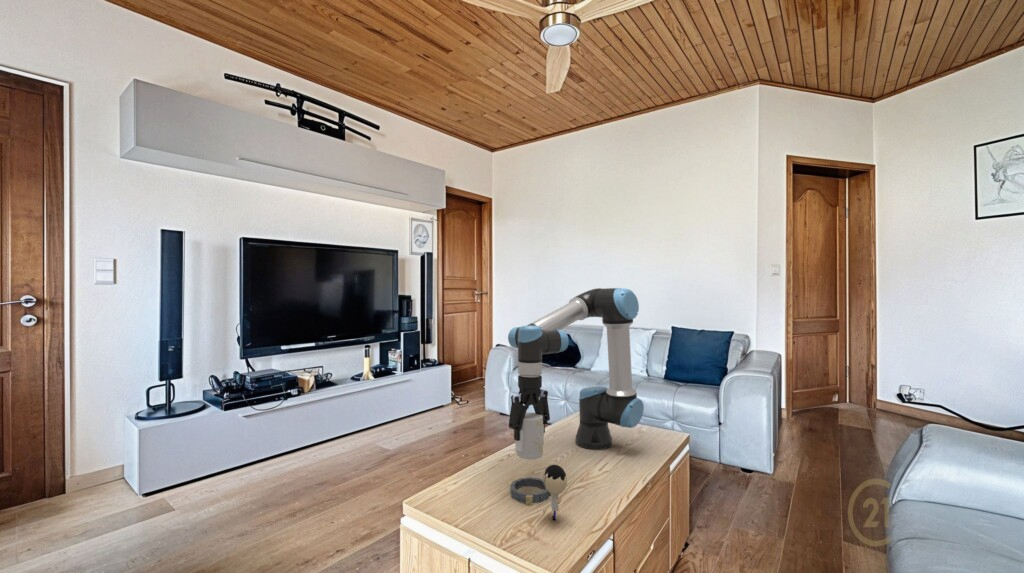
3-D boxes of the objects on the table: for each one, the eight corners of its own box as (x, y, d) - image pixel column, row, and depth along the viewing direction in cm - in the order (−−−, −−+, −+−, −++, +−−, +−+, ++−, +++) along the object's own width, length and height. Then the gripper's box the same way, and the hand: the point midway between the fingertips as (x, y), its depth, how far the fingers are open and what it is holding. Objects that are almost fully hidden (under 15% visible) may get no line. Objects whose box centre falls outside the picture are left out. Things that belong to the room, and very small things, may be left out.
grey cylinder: (540, 460, 132) (541, 420, 132) (514, 458, 134) (514, 419, 134) (544, 450, 140) (544, 413, 140) (519, 448, 142) (519, 411, 142)
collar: (531, 481, 146) (531, 474, 146) (558, 494, 136) (558, 486, 136) (502, 492, 138) (502, 484, 138) (528, 507, 128) (528, 499, 128)
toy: (541, 512, 126) (541, 460, 126) (563, 510, 126) (563, 459, 126) (546, 528, 117) (545, 472, 117) (570, 527, 118) (569, 471, 118)
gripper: (545, 369, 147) (545, 437, 146) (496, 377, 133) (496, 451, 133) (561, 372, 141) (561, 443, 141) (511, 381, 128) (511, 458, 127)
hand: (529, 447), depth 137 cm, fingers closed on grey cylinder, 8 cm apart
